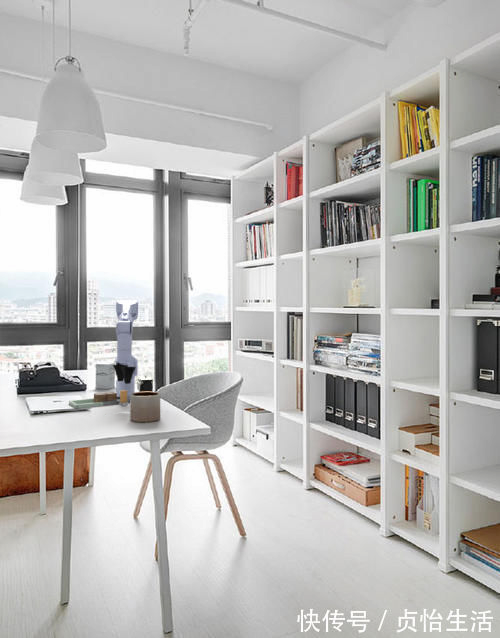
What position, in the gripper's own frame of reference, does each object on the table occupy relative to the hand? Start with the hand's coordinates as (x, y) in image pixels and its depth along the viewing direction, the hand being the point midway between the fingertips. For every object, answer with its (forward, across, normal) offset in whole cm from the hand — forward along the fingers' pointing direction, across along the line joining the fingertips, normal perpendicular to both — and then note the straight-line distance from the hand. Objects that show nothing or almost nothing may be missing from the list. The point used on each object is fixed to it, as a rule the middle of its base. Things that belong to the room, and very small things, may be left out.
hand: (124, 382), depth 208 cm
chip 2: (+9, -8, -3) cm, 12 cm away
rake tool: (+10, 0, 0) cm, 10 cm away
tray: (+10, -8, -13) cm, 18 cm away
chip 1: (+9, -8, -7) cm, 14 cm away
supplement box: (+10, -48, +10) cm, 51 cm away
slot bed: (+10, -8, -2) cm, 13 cm away
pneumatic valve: (+10, 0, +9) cm, 14 cm away
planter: (+10, +27, -3) cm, 29 cm away
